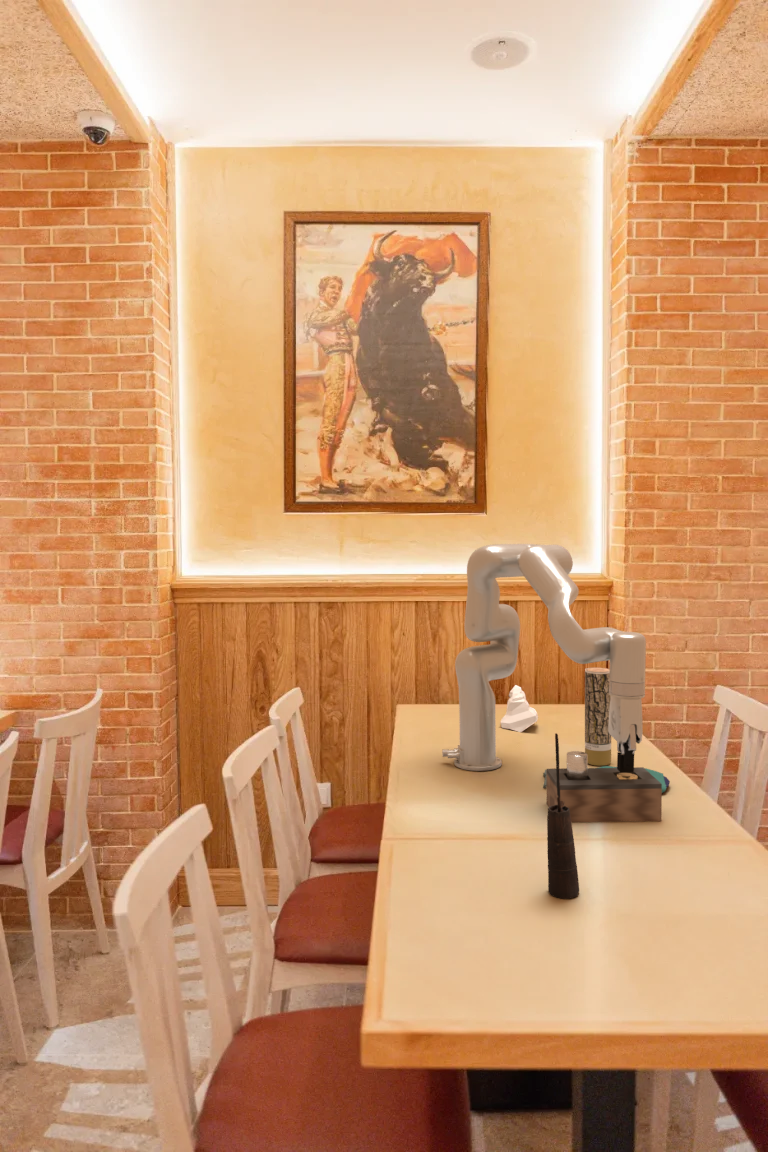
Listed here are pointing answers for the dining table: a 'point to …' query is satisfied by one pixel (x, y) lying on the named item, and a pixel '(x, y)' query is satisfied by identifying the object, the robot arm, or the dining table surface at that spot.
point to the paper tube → (597, 716)
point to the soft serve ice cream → (518, 711)
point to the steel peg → (576, 765)
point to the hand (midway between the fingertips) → (625, 771)
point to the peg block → (607, 795)
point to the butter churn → (561, 847)
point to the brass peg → (627, 776)
